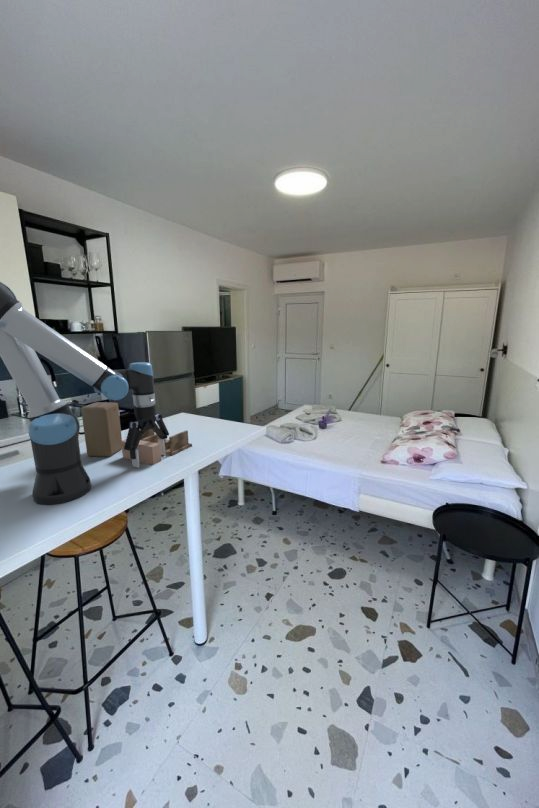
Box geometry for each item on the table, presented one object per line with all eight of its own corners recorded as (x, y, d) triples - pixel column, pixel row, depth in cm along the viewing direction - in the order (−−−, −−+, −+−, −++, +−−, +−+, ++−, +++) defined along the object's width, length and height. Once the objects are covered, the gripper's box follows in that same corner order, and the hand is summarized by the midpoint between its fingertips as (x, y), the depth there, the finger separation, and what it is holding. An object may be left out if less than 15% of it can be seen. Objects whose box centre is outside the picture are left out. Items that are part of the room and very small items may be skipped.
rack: (172, 455, 131) (171, 438, 129) (132, 447, 140) (130, 431, 139) (192, 446, 141) (191, 430, 140) (153, 439, 151) (152, 424, 149)
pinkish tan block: (153, 465, 122) (152, 447, 121) (122, 458, 129) (121, 441, 127) (161, 461, 126) (160, 443, 124) (131, 454, 133) (129, 438, 131)
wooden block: (123, 448, 139) (118, 402, 135) (110, 457, 129) (104, 407, 125) (101, 447, 140) (95, 401, 136) (86, 456, 130) (79, 407, 126)
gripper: (124, 413, 109) (130, 474, 113) (175, 399, 130) (179, 451, 135) (108, 411, 112) (115, 470, 116) (161, 398, 133) (165, 448, 138)
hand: (149, 460), depth 126 cm, fingers open, 12 cm apart
